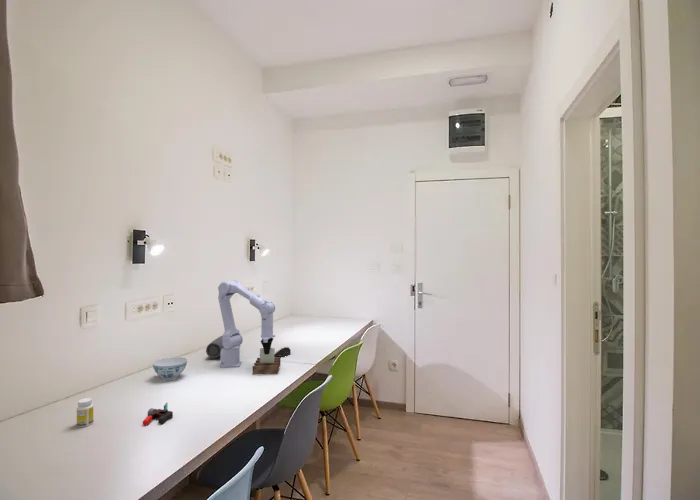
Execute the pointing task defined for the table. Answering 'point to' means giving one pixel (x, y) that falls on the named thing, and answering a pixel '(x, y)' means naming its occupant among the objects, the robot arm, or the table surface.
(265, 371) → the dish rack
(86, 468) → the table surface
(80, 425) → the supplement bottle
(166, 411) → the toy gun
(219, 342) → the bluetooth speaker
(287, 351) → the hairbrush
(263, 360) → the pale green box
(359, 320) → the table surface
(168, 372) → the chinaware
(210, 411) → the table surface
